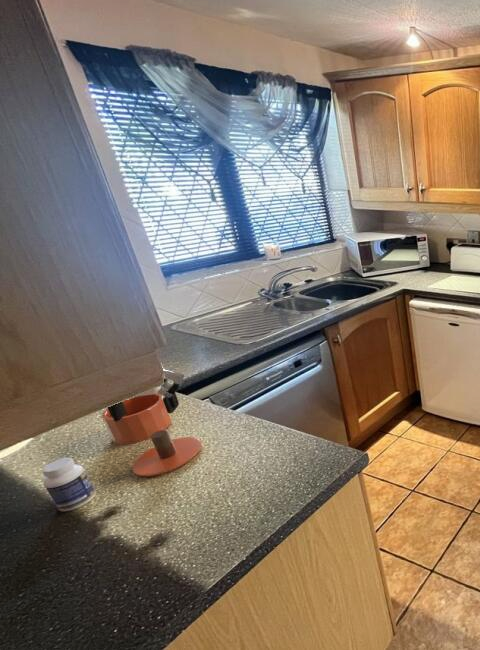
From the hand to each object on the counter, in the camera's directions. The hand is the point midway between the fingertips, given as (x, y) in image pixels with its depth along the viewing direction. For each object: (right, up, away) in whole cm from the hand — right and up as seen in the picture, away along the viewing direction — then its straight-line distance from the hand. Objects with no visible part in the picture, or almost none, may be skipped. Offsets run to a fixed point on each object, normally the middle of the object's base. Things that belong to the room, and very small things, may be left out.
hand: (147, 413), depth 86 cm
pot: (-15, -8, +15) cm, 23 cm away
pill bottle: (-8, -17, -6) cm, 20 cm away
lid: (+1, -11, +5) cm, 12 cm away
